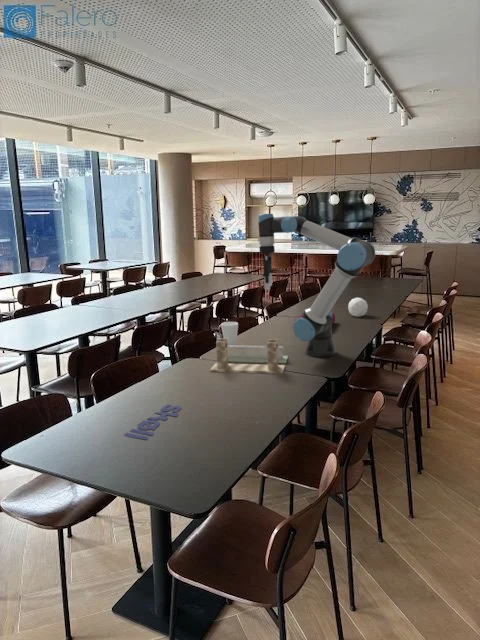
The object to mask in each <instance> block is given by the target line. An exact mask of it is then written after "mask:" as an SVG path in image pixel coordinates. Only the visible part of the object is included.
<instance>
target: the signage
mask: <svg viewBox="0 0 480 640" xmlns="http://www.w3.org/2000/svg"><path fill="white" fill-rule="evenodd" d="M182 409H183V408H182V406H181V405H175V406H172V405H171V404H166V405H164V406H162V407H161V408H160V411H156V412H154V414H155V415H158V416H155V417H154V416H151V417H147V418H146V419H143V420H142V421H141V422H139V423H138V424H137V429H135V428H131V429H130V431H129V432H126V433H124V435H123V437H126V438H132V439H139V440H144V441H148V439H149V438H150V436H151V437H153V436H154V434H155V430H156V429H157V428H159V426H160V425H161V422H159V420H160V421H164V422H165V421H167V420H168V419H169V418H168V417H175V418H177V417H178V416H179V412H180V411H181V410H182ZM170 411H171V412H172V413H171V412H170ZM152 424H153V425H152ZM151 430H152V431H153V432H152V431H151ZM144 435H145V436H144ZM148 436H149V437H148Z"/></svg>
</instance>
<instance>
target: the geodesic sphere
mask: <svg viewBox="0 0 480 640" xmlns="http://www.w3.org/2000/svg"><path fill="white" fill-rule="evenodd" d="M368 307H369V305H368V303H367V300H365V299H363V298H362V297H353V298H352V299H351V300H350V301H349V303H348V307H347V310H348V312H349V314H351V315H352V316H353V317H357V318H360V317H363V316H365V315H366V314H367V312H368Z"/></svg>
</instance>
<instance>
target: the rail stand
mask: <svg viewBox="0 0 480 640" xmlns="http://www.w3.org/2000/svg"><path fill="white" fill-rule="evenodd" d="M266 346H267V354H268V363H267V364H265V363H260V364H259V363H258V364H257V363H254V364H253V363H249V364H248V363H229V362H228V338H223V337H222V338H220V337H219V338H218V341H216V342H215V350H216V362H215V363H214V364H213V365H212V367H211V368H210V369H209V371H210V373H239V374H240V373H241V374H242V373H244V374H272V373H276V374H275V375H277V374H279V375H281V374H282V375H283V373H284V371H285V368H286V365H285V364H279V363H278V346H279V342H278V339H277V338H269V339H268V341H267V343H266Z"/></svg>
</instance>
